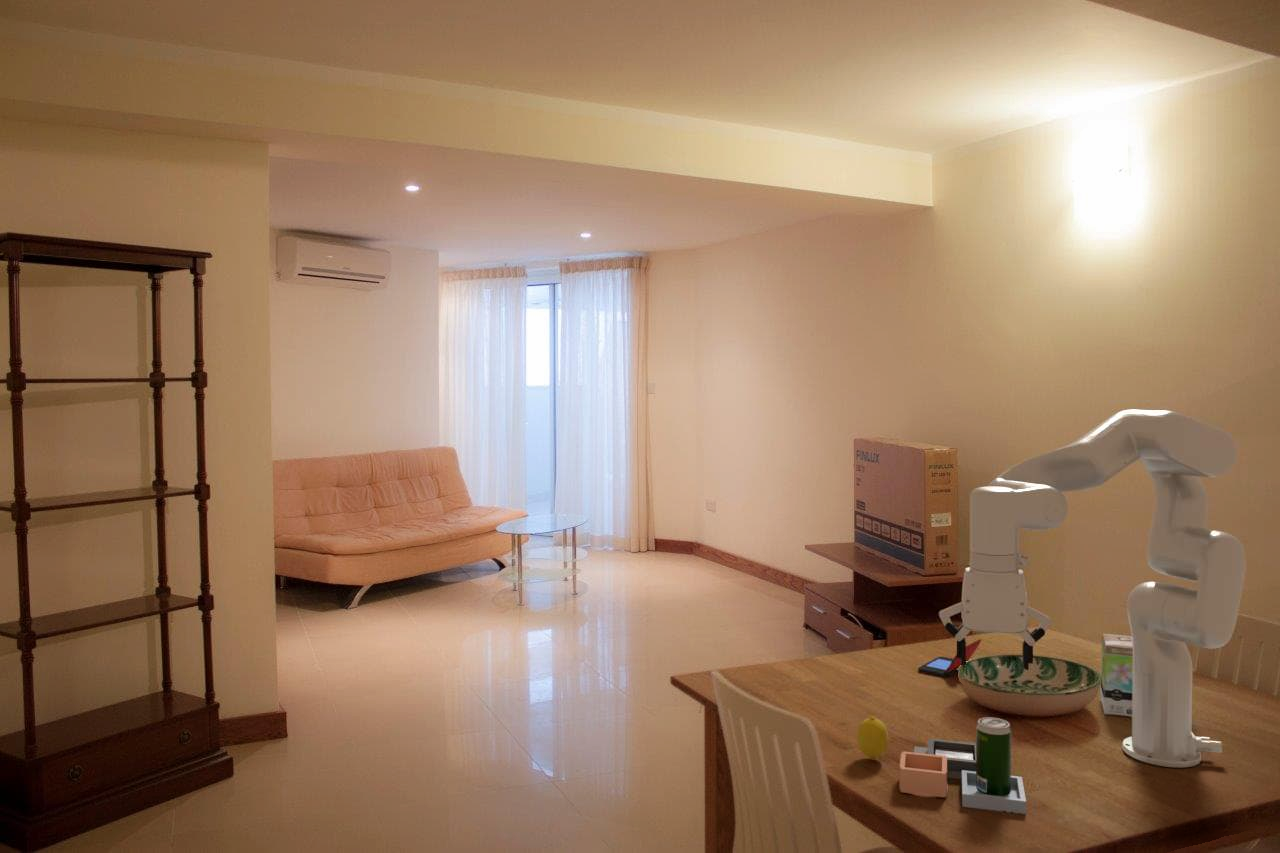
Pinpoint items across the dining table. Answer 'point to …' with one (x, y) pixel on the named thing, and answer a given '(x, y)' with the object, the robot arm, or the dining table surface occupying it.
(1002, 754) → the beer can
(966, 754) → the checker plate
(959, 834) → the dining table surface
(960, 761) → the button control box
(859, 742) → the lemon
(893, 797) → the dining table surface
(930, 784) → the peach open box
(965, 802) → the light blue-grey square tray
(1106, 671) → the tea box
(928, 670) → the handheld game console
